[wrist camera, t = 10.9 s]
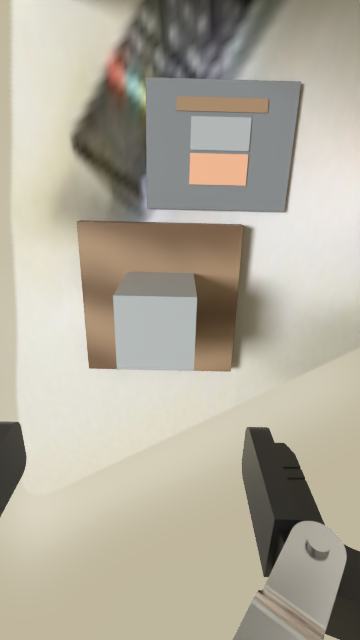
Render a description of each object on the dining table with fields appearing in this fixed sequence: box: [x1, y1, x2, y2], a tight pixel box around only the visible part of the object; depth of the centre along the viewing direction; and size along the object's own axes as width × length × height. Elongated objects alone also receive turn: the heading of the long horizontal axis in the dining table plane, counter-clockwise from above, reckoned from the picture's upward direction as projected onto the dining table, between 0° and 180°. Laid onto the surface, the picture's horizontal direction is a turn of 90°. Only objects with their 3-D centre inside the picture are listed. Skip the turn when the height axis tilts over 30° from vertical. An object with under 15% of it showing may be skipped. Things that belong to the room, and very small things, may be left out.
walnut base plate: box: [77, 220, 244, 371], centre depth 27 cm, size 12×12×1 cm
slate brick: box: [113, 272, 197, 371], centre depth 24 cm, size 5×5×6 cm
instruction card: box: [146, 77, 301, 212], centre depth 24 cm, size 8×10×1 cm
